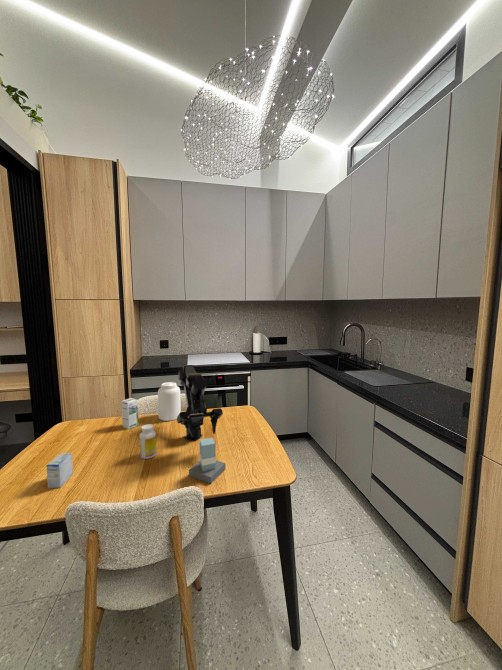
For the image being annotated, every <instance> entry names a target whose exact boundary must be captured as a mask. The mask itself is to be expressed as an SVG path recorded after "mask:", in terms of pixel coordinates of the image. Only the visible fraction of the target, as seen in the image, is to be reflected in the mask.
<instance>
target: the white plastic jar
mask: <svg viewBox="0 0 502 670" xmlns="http://www.w3.org/2000/svg"><path fill="white" fill-rule="evenodd" d="M181 404H182V403H181V388H180V387H179V386H178V385H177V382H174V381H168V382H163V383H161V385H160V388H159V389H158V390H157V411H158V413H157V415H158V417H157V418H158V419H159V420H160V421H166V422H169V421H174V420H177V417H178V415H179V413H180V412H182V411H181V406H182V405H181Z"/></svg>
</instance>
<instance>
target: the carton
mask: <svg viewBox="0 0 502 670" xmlns="http://www.w3.org/2000/svg"><path fill="white" fill-rule="evenodd" d="M216 459H217V458H216V442H215V439H213V437H207V438H203V439H202V438H201V439H199V461H200V466H201V469H202V471H207V470H211V469H216V461H217V460H216Z"/></svg>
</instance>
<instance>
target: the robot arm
mask: <svg viewBox="0 0 502 670" xmlns="http://www.w3.org/2000/svg"><path fill="white" fill-rule="evenodd" d="M177 377H178V378H177V379H178V381H179V382H180V385H181V386H182V387H184V394H185V395H184V396H185V399H186V400H185V402H186V410H185V411H181V412H180V413H179V415H178V417H177V419H176V422H177V424H180V425H183V426H184V428H185V430H186V431H185V432H186V433H185V434H186V435H185V436H184V439H186V440H190V441H193V442H195V441H197V440H199V439H200V438H201V437H203V434H202V428H201V426H203V425H204V419H205V418H207V417H210V423H211V428H212V429H211V430H212V433H213V435H215V434H216V430H217V429H216V428H217V423H218V420H219V419H220V418H221V417H222V415H223V414H224V413H223V412H224V411H223V409H222V408H220V407H218V408H213V409H212V410H211V411H208V408H207V407H206V398H205V396H204V394H205V391H206V388H207V385H208V383H207V380H206V379H205V378H204V377H203V376H202V374H201V373H200V372H197V371H196V370H195V367H194V364H187V365H185V364H184V365H183V366H182V368H181V369H179V370H178V374H177Z"/></svg>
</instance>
